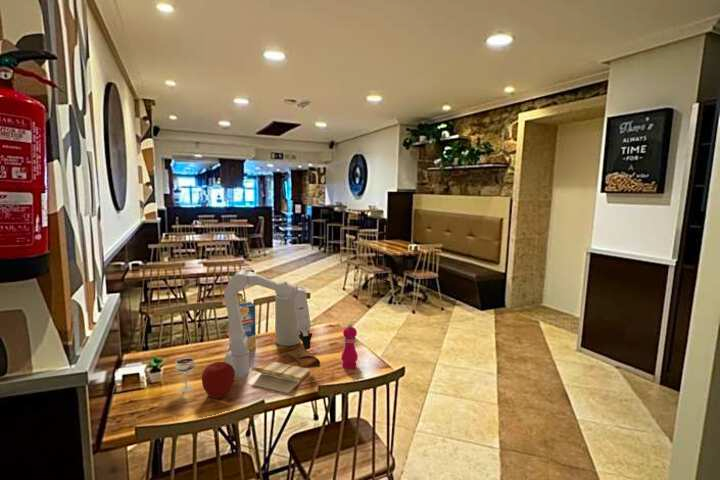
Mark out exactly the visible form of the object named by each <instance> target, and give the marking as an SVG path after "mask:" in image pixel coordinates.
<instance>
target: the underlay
mask: <svg viewBox="0 0 720 480" xmlns="http://www.w3.org/2000/svg"><path fill="white" fill-rule="evenodd" d="M311 372H312V371H311V370H310V372H309V373H308V374H310V373H311ZM308 374H307V375H308ZM299 383H300V382H299V381H294V380H290V379H285V378H281V377H276V376H272V375H267V374H263V373H259V372H257V374H256V375H254V376H253V377H252V378H250V379H249V380H248V381H247V382H246V384H248V385H251V386H252V385H253V386H256V387H257V386H258V387H261V388H264V389H269V390H273V391H278V392H282V393H287V394H288V393H290V392H292V390H293V389H294V388H295V387H296V386H297V385H298V384H299Z"/></svg>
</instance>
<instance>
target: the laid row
mask: <svg viewBox="0 0 720 480" xmlns="http://www.w3.org/2000/svg"><path fill="white" fill-rule="evenodd" d="M263 369H265V370H270V371H274V372H279V373H283V374H288V375H293V376H295V377H298V378H300V382H302V380H303V379H304V378H305V377H307V376H308V373H309V372H310V371H311V368H308V367H307V368H302V367H301V366H297V365H296V366H295V365H292V364H286V363H283V362H282V363H281V362H277V361H272V362H271V363H270V364H268V365H266V366H265V367H264V368H263ZM310 373H311V372H310ZM310 373H309V374H310Z"/></svg>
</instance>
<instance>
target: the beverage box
mask: <svg viewBox="0 0 720 480" xmlns="http://www.w3.org/2000/svg"><path fill="white" fill-rule="evenodd" d="M238 303H239V302H238ZM239 308H240V314H241V319H242V324H243V329H244V330H245V334H246V335H247V336H248V338H249V343H248V345H247V348H248V350H249V351H251V350H256V348H257V347H256V345H257V342H256V340H257V339H256V305H255V304H254V303H253V302H251V301H247V302H241V303H239ZM228 343H229V344H228V345H229V347H228V349H229V350H230V348H231V344H232V343H231V328H230V323H229V322H228Z"/></svg>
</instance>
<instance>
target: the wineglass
mask: <svg viewBox="0 0 720 480" xmlns="http://www.w3.org/2000/svg"><path fill="white" fill-rule="evenodd" d="M194 360H195V357H194V356H190V355H188V356H180V357H179V358H176V359H175V369H176V372H178V373H180V374H183V375H184V385H185V386H181V387H180V388H179V391H178V392H180V393H189V392H191V391H193V389H194V387H193V386H192V385H188V383H187V380H188V377H187V376H188V375H187V374H188V373H191V372H192V371H193V370H194V368H195V365H196V363H195V361H194Z"/></svg>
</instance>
